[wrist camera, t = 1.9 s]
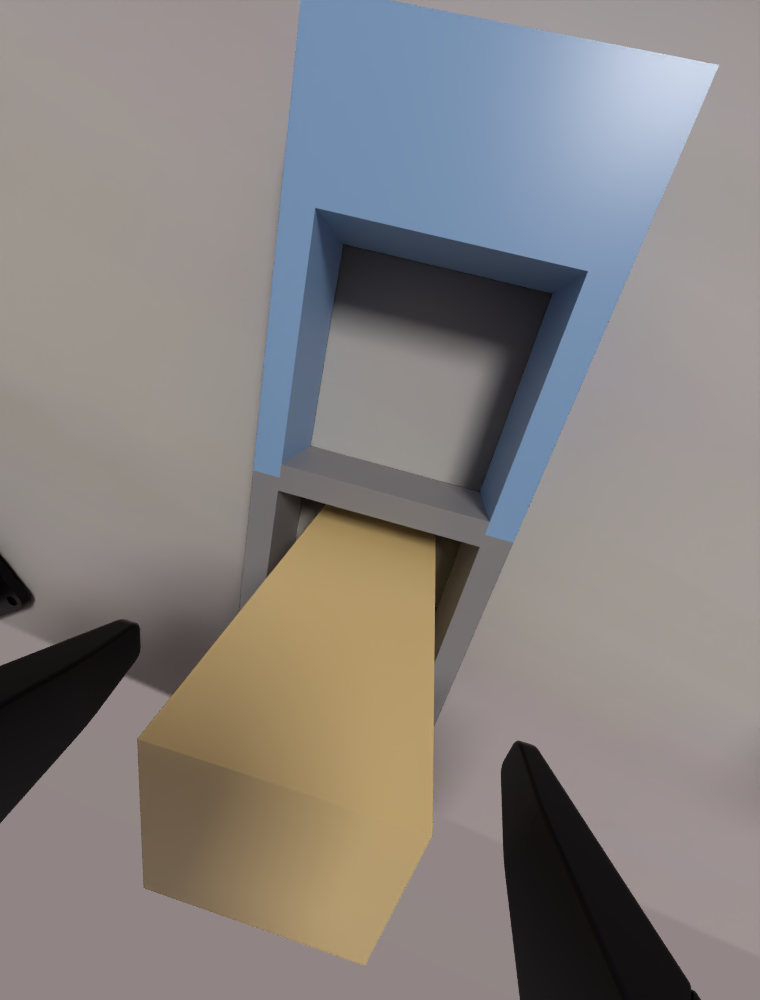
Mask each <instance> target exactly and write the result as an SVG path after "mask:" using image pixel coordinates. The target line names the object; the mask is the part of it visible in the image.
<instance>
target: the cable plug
mask: <svg viewBox="0 0 760 1000" xmlns="http://www.w3.org/2000/svg"><path fill="white" fill-rule="evenodd" d="M435 550H436V535H435V534H432V533H428V532H425V531H421V530H417V529H414V528H410V527H407V526H403V525H400V524H396V523H392V522H389V521H385V520H382V519H378V518H375V517H371V516H367V515H364V514H360V513H357V512H353V511H350V510H346V509H342V508H339V507H335V506H332V505H328V504H326V505H325V506H324V507H323V509H322V510H321V511H320V512H319V514H318V515H317V516H316V517H315V518H314V520H313V521H312V522H311V523H310V525H309V526H308V527H307V528H306V530H305V531H304V532H303V533H302V535H301V536H300V537H299V538H298V540H297V541H296V542H295V543H294V545H293V546H292V547H291V548H290V550H289V551H288V552H287V553H286V555H285V556H284V557H283V558H282V560H281V561H280V562H279V563H278V565H277V566H276V567H275V568H274V569H273V571H272V572H271V573H270V574H269V576H268V577H267V578H266V579H265V581H264V582H263V583H262V584H261V586H260V587H259V588H258V589H257V591H256V592H255V593H254V594H253V596H252V597H251V598H250V599H249V601H248V602H247V603H246V604H245V606H244V607H243V608H242V609H241V611H240V612H239V613H238V614H237V616H236V617H235V618H234V619H233V620H232V622H231V623H230V624H229V625H228V627H227V628H226V629H225V630H224V632H223V633H222V634H221V635H220V637H219V638H218V639H217V640H216V642H215V643H214V644H213V645H212V647H211V648H210V649H209V650H208V652H207V653H206V654H205V655H204V657H203V658H202V659H201V660H200V662H199V663H198V664H197V665H196V667H195V668H194V669H193V670H192V671H191V673H190V674H189V675H188V676H187V678H186V679H185V680H184V681H183V683H182V684H181V685H180V686H179V688H178V689H177V690H176V691H175V693H174V694H173V695H172V696H171V698H170V699H169V700H168V701H167V703H166V704H165V705H164V706H163V708H162V709H161V710H160V711H159V713H158V714H157V715H156V716H155V718H154V719H153V720H152V721H151V723H150V724H149V725H148V726H147V728H146V729H145V730H144V731H143V732H142V734H141V735H140V736H139V737H138V739H137V742H138V766H139V789H140V812H141V836H142V858H143V881H144V888H145V889H148V890H151V891H154V892H157V893H159V894H162V895H165V896H168V897H171V898H174V899H176V900H179V901H182V902H185V903H188V904H191V905H193V906H196V907H199V908H202V909H205V910H208V911H211V912H214V913H216V914H219V915H222V916H225V917H228V918H231V919H233V920H236V921H239V922H242V923H245V924H247V925H250V926H253V927H256V928H259V929H262V930H265V931H267V932H270V933H273V934H276V935H279V936H282V937H284V938H287V939H290V940H294V941H296V942H299V943H302V944H304V945H307V946H310V947H313V948H316V949H319V950H322V951H324V952H327V953H330V954H333V955H336V956H338V957H341V958H344V959H347V960H350V961H353V962H356V963H358V964H361V965H364V966H365V965H366V963H367V961H368V959H369V957H370V955H371V953H372V951H373V949H374V948H375V946H376V944H377V942H378V940H379V938H380V936H381V934H382V932H383V930H384V928H385V926H386V924H387V922H388V920H389V918H390V917H391V915H392V913H393V911H394V909H395V907H396V905H397V903H398V901H399V899H400V897H401V895H402V893H403V892H404V890H405V888H406V886H407V884H408V882H409V880H410V878H411V876H412V874H413V872H414V870H415V868H416V866H417V864H418V862H419V860H420V859H421V857H422V855H423V853H424V851H425V849H426V847H427V845H428V843H429V841H430V839H431V837H432V835H433V834H432V833H433V743H434V646H435Z"/></svg>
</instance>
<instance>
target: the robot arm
mask: <svg viewBox="0 0 760 1000" xmlns="http://www.w3.org/2000/svg"><path fill="white" fill-rule="evenodd" d="M30 602H31V598H30V596H29V594H28V593H27V591H26V590H25V589H24V588H23V586H22V585H21V584H20V583H19V581H18V580H17V579H16V578H15V576H14V575H13V574H12V573H11V571H10V570H9V569H8V568H7V566H6V565H5V564H4V563H3V561H2V560H1V559H0V616H3V615H6V614H9V613H11V612H14V611H17V610H19V609H21V608H23V607H25V606H26V605H28V604H29V603H30ZM140 648H141V647H140V627H139V625H138V624H137V623H134V622H131V621H128V620H124V619H121V620H117V621H114V622H111V623H109V624H106V625H104V626H101V627H99V628H96V629H94V630H91V631H88V632H86V633H83V634H81V635H78V636H76V637H73V638H70V639H68V640H65V641H63V642H60V643H58V644H55V645H53V646H50V647H47V648H45V649H42V650H40V651H37V652H35V653H32V654H29V655H27V656H24V657H22V658H19V659H17V660H14V661H12V662H9V663H7V664H4V665H1V666H0V823H1V822H2V821H3V819H4V818H5V817H6V816H7V815H8V814H9V813H10V812H11V810H12V809H13V808H14V807H15V806H16V805H17V804H18V803H19V801H20V800H21V799H22V798H23V797H24V796H25V795H26V794H27V792H28V791H29V790H30V789H31V788H32V787H33V786H34V785H35V783H36V782H37V781H38V780H39V779H40V778H41V777H42V775H43V774H44V773H45V772H46V771H47V770H48V769H49V767H51V765H52V764H53V763H54V762H55V761H56V760H57V759H58V757H59V756H60V755H61V754H62V753H63V752H64V751H65V750H66V748H67V747H68V746H69V745H70V744H71V743H72V742H73V740H74V739H75V738H76V737H77V736H78V735H79V734H80V733H81V731H82V730H83V729H84V728H85V727H86V726H87V724H88V723H89V722H90V721H91V719H92V718H93V717H94V715H95V714H96V713H97V712H98V710H99V709H100V708H101V706H102V705H103V703H104V702H105V701H106V700H107V698H108V697H109V696H110V694H111V693H112V691H113V690H114V689H115V687H116V686H117V685H118V683H119V682H120V681H121V679H122V678H123V677H124V675H125V674H126V673H127V671H128V670H129V669H130V667H131V666H132V665H133V663H134V662H135V661H136V659H137V657H138V656H139V653H140ZM501 793H502V826H503V852H504V867H505V877H506V885H507V894H508V902H509V911H510V919H511V927H512V935H513V944H514V953H515V962H516V970H517V979H518V987H519V996H520V1000H701V999H700V998H699V996H698V994H697V993H696V992H695V991H694V990H691V985H690V983H689V981H688V979H687V978H686V976H685V975H684V973H683V972H682V970H681V969H680V967H679V966H678V964H677V963H676V961H675V959H674V958H673V956H672V955H671V953H670V952H669V951H668V949H667V947H666V946H665V944H664V943H663V941H662V940H661V938H660V936H659V935H658V933H657V932H656V930H655V929H654V927H653V926H652V924H651V922H650V921H649V919H648V918H647V916H646V915H645V913H644V912H643V910H642V909H641V907H640V905H639V904H638V902H637V901H636V899H635V898H634V896H633V895H632V893H631V892H630V890H629V889H628V887H627V885H626V884H625V882H624V881H623V879H622V878H621V876H620V875H619V873H618V872H617V870H616V869H615V867H614V865H613V864H612V862H611V861H610V859H609V858H608V856H607V855H606V853H605V852H604V850H603V849H602V847H601V845H600V844H599V842H598V841H597V839H596V838H595V836H594V835H593V833H592V832H591V830H590V829H589V827H588V825H587V824H586V822H585V821H584V819H583V818H582V816H581V815H580V813H579V812H578V810H577V809H576V807H575V805H574V804H573V802H572V801H571V799H570V798H569V796H568V795H567V793H566V792H565V790H564V789H563V787H562V785H561V784H560V782H559V781H558V779H557V778H556V776H555V775H554V773H553V772H552V770H551V769H550V767H549V765H548V764H547V762H546V761H545V759H544V758H543V756H542V755H541V753H540V752H539V750H538V749H537V748H536V747H535V746H534V745H532V744H528V743H525V742H522V741H516V742H515V743H514V744H513V746H512V747H511V749H510V751H509V753H508V754H507V756H506V758H505V760H504V761H503V764H502V768H501Z"/></svg>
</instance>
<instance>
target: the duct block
mask: <svg viewBox="0 0 760 1000" xmlns="http://www.w3.org/2000/svg"><path fill="white" fill-rule="evenodd" d="M718 66H719V65H716V64H711V63H706V62H701V61H696V60H691V59H686V58H680V57H675V56H670V55H665V54H660V53H655V52H650V51H645V50H640V49H635V48H630V47H625V46H619V45H614V44H609V43H604V42H599V41H594V40H589V39H584V38H579V37H574V36H569V35H563V34H558V33H553V32H548V31H543V30H538V29H533V28H528V27H523V26H518V25H513V24H508V23H502V22H497V21H492V20H487V19H482V18H477V17H472V16H467V15H462V14H457V13H452V12H447V11H441V10H436V9H431V8H426V7H421V6H416V5H411V4H406V3H401V2H396V1H391V0H301V2H300V12H299V22H298V32H297V42H296V52H295V62H294V72H293V81H292V91H291V101H290V111H289V121H288V131H287V141H286V151H285V161H284V171H283V180H282V190H281V200H280V210H279V220H278V230H277V240H276V250H275V260H274V270H273V279H272V289H271V299H270V309H269V319H268V329H267V339H266V349H265V359H264V369H263V378H262V388H261V398H260V408H259V418H258V428H257V438H256V448H255V458H254V468H253V477H252V487H251V497H250V507H249V517H248V527H247V537H246V547H245V557H244V567H243V577H242V586H241V596H240V606H239V612H240V611H241V609H242V608H243V607H244V606H245V604H246V603H247V602H248V601H249V599H250V598H251V597H252V596H253V594H254V593H255V592H256V591H257V589H258V588H259V587H260V586H261V584H262V583H263V582H264V581H265V579H266V578H267V577H268V576H269V574H270V573H271V572H272V571H273V569H274V568H275V567H276V566H277V565H278V563H279V562H280V561H281V560H282V558H283V557H284V556H285V555H286V553H287V552H288V551H289V550H290V548H291V547H292V546H293V545H294V543H295V539H296V533H297V527H298V521H299V515H300V508H301V502H302V497H303V498H307V499H310V500H314V501H317V502H321V503H325V504H328V505H332V506H335V507H339V508H342V509H346V510H350V511H353V512H357V513H360V514H364V515H367V516H371V517H375V518H378V519H382V520H385V521H389V522H392V523H396V524H400V525H403V526H407V527H410V528H414V529H417V530H421V531H425V532H428V533H432V534H435V535H439V536H442V537H446V538H450V539H453V540H457V541H460V542H461V545H460V547H459V550H458V553H457V556H456V558H455V561H454V564H453V566H452V569H451V572H450V575H449V577H448V580H447V583H446V586H445V588H444V591H443V594H442V596H441V599H440V602H439V605H438V607H437V610H436V613H435V646H434V726H435V723H436V721H437V719H438V716H439V714H440V712H441V709H442V707H443V705H444V702H445V700H446V698H447V695H448V693H449V691H450V688H451V686H452V684H453V681H454V679H455V677H456V674H457V672H458V670H459V668H460V665H461V663H462V661H463V658H464V656H465V654H466V651H467V649H468V647H469V644H470V642H471V640H472V637H473V635H474V633H475V630H476V628H477V626H478V623H479V621H480V619H481V616H482V614H483V612H484V609H485V607H486V605H487V603H488V600H489V598H490V596H491V593H492V591H493V589H494V586H495V584H496V582H497V579H498V577H499V575H500V572H501V570H502V568H503V565H504V563H505V561H506V558H507V556H508V554H509V551H510V549H511V547H512V544H513V542H514V540H515V538H516V535H517V533H518V531H519V528H520V526H521V524H522V521H523V519H524V517H525V514H526V512H527V510H528V507H529V505H530V503H531V500H532V498H533V496H534V493H535V491H536V489H537V486H538V484H539V482H540V479H541V477H542V475H543V473H544V470H545V468H546V466H547V463H548V461H549V459H550V456H551V454H552V452H553V449H554V447H555V445H556V442H557V440H558V438H559V435H560V433H561V431H562V428H563V426H564V424H565V421H566V419H567V417H568V414H569V412H570V410H571V408H572V405H573V403H574V401H575V398H576V396H577V394H578V391H579V389H580V387H581V384H582V382H583V380H584V377H585V375H586V373H587V370H588V368H589V366H590V363H591V361H592V359H593V356H594V354H595V352H596V349H597V347H598V345H599V343H600V340H601V338H602V336H603V333H604V331H605V329H606V326H607V324H608V322H609V319H610V317H611V315H612V312H613V310H614V308H615V305H616V303H617V301H618V298H619V296H620V294H621V291H622V289H623V287H624V284H625V282H626V280H627V278H628V275H629V273H630V271H631V268H632V266H633V264H634V261H635V259H636V257H637V254H638V252H639V250H640V247H641V245H642V243H643V240H644V238H645V236H646V233H647V231H648V229H649V226H650V224H651V222H652V219H653V217H654V215H655V213H656V210H657V208H658V206H659V203H660V201H661V199H662V196H663V194H664V192H665V189H666V187H667V185H668V182H669V180H670V178H671V175H672V173H673V171H674V168H675V166H676V164H677V161H678V159H679V157H680V154H681V152H682V150H683V148H684V145H685V143H686V141H687V138H688V136H689V134H690V131H691V129H692V127H693V124H694V122H695V120H696V117H697V115H698V113H699V110H700V108H701V106H702V103H703V101H704V99H705V96H706V94H707V92H708V89H709V87H710V85H711V83H712V80H713V78H714V76H715V73H716V71H717V69H718ZM343 244H346V245H350V246H354V247H358V248H363V249H367V250H371V251H375V252H380V253H384V254H388V255H392V256H396V257H401V258H405V259H409V260H413V261H417V262H422V263H426V264H430V265H434V266H438V267H443V268H447V269H451V270H455V271H460V272H464V273H468V274H472V275H476V276H481V277H485V278H489V279H493V280H497V281H502V282H506V283H510V284H514V285H519V286H523V287H527V288H531V289H535V290H540V291H544V292H548V293H552V296H551V299H550V302H549V305H548V307H547V310H546V313H545V315H544V318H543V321H542V324H541V326H540V329H539V332H538V335H537V337H536V340H535V343H534V345H533V348H532V351H531V354H530V356H529V359H528V362H527V365H526V367H525V370H524V373H523V376H522V378H521V381H520V384H519V386H518V389H517V392H516V395H515V397H514V400H513V403H512V406H511V408H510V411H509V414H508V416H507V419H506V422H505V425H504V427H503V430H502V433H501V436H500V438H499V441H498V444H497V446H496V449H495V452H494V455H493V457H492V460H491V463H490V466H489V468H488V471H487V474H486V476H485V479H484V482H483V485H482V487H481V490H480V492H478V491H474V490H471V489H467V488H463V487H459V486H456V485H452V484H448V483H445V482H441V481H437V480H434V479H430V478H426V477H423V476H419V475H415V474H412V473H408V472H404V471H400V470H397V469H393V468H389V467H386V466H382V465H378V464H375V463H371V462H367V461H364V460H360V459H356V458H353V457H349V456H345V455H342V454H338V453H334V452H330V451H327V450H323V449H319V448H316V447H312V446H311V440H312V434H313V428H314V422H315V415H316V409H317V403H318V397H319V391H320V385H321V378H322V372H323V366H324V360H325V354H326V347H327V341H328V335H329V329H330V323H331V316H332V310H333V304H334V298H335V292H336V285H337V279H338V273H339V267H340V261H341V254H342V248H343Z"/></svg>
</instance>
